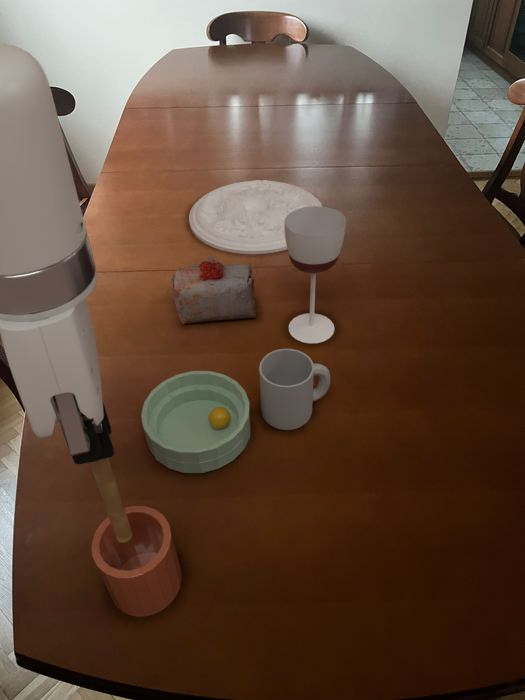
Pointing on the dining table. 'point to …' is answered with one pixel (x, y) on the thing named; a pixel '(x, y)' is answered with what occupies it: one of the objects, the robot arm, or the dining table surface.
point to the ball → (219, 417)
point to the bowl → (196, 421)
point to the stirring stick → (111, 498)
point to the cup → (290, 387)
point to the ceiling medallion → (248, 215)
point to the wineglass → (313, 261)
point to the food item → (214, 292)
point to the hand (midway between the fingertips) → (93, 446)
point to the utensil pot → (139, 562)
